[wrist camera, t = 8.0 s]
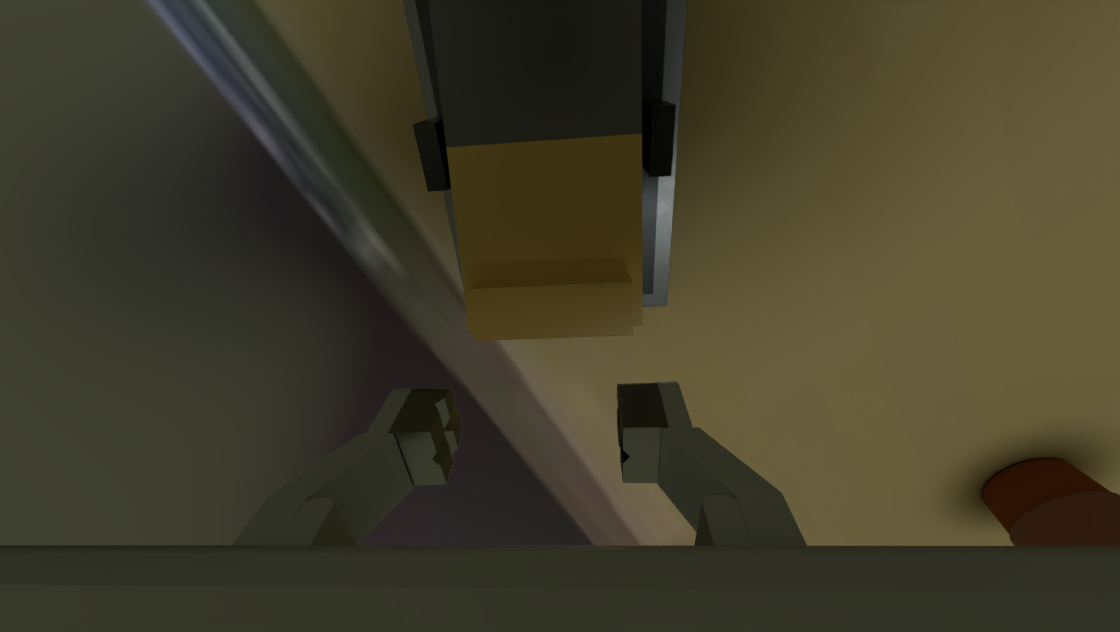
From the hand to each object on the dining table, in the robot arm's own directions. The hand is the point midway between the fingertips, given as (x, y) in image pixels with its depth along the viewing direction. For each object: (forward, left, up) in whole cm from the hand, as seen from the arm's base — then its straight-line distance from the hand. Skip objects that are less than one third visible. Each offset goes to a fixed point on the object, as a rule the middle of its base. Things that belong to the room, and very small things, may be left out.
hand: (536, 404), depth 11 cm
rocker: (-5, 0, -9) cm, 10 cm away
